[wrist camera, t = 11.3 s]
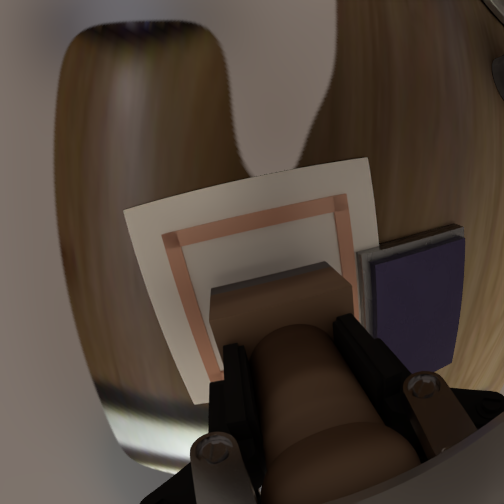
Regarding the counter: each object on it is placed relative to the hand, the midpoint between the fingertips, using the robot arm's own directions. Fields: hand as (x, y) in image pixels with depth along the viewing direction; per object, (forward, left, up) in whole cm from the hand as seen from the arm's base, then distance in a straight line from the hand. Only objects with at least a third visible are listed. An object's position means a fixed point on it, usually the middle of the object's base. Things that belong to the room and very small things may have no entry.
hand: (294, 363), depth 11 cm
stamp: (0, 0, -3) cm, 3 cm away
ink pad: (+4, +9, -6) cm, 12 cm away
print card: (0, 0, -6) cm, 6 cm away
